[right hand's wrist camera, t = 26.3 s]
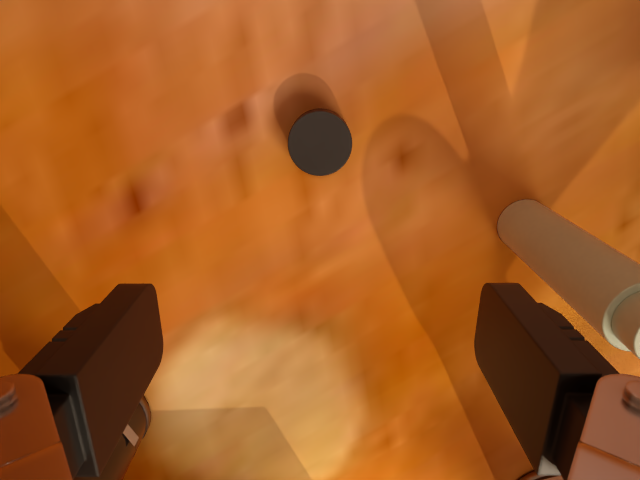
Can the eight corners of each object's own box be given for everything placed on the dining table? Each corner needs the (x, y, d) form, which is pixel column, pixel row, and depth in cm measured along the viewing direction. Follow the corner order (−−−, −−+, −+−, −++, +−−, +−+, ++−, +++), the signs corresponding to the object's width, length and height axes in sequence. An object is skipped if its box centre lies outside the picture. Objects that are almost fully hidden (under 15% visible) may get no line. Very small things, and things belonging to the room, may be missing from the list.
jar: (537, 251, 42) (689, 380, 25) (489, 242, 41) (610, 366, 24) (556, 204, 40) (733, 306, 23) (506, 194, 40) (649, 291, 23)
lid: (323, 95, 37) (323, 96, 35) (362, 143, 38) (365, 147, 36) (277, 136, 38) (274, 140, 36) (316, 181, 39) (316, 188, 37)
